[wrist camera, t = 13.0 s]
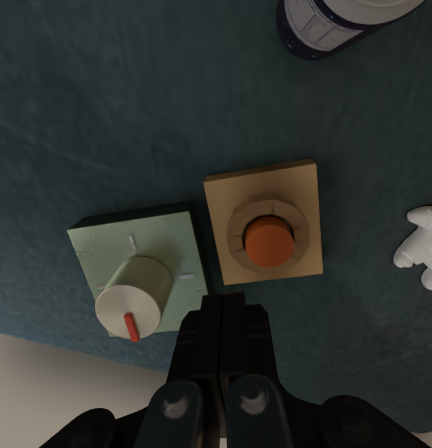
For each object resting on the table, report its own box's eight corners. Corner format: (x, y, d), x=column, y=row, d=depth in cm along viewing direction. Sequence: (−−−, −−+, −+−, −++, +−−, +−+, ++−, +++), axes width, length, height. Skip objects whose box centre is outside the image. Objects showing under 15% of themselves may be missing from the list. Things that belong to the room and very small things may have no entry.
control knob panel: (120, 317, 33) (108, 338, 30) (83, 217, 28) (65, 230, 26) (217, 307, 31) (215, 328, 28) (194, 200, 27) (188, 211, 24)
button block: (225, 272, 30) (223, 297, 26) (205, 176, 26) (200, 187, 22) (317, 261, 28) (328, 285, 25) (310, 158, 25) (322, 168, 21)
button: (248, 259, 25) (249, 270, 23) (242, 220, 23) (242, 228, 22) (292, 254, 24) (296, 264, 23) (287, 213, 23) (291, 221, 21)
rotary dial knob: (109, 259, 26) (83, 290, 22) (165, 252, 26) (150, 284, 21) (125, 306, 28) (104, 344, 24) (178, 302, 28) (166, 339, 23)
